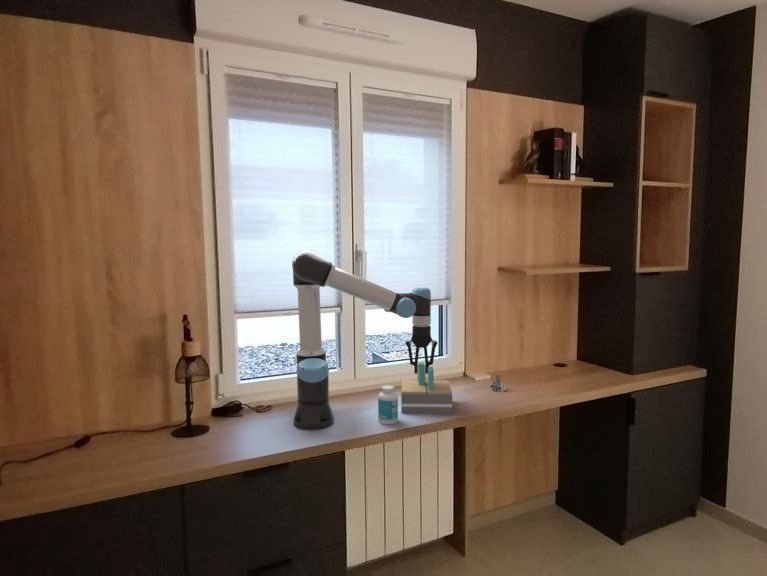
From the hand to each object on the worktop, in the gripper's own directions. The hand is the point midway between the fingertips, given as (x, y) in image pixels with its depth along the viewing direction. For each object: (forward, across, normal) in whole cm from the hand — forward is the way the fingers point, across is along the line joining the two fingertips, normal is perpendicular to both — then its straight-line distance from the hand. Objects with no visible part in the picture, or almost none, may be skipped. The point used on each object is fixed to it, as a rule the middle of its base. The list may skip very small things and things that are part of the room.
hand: (421, 381), depth 211 cm
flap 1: (+2, -3, -4) cm, 5 cm away
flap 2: (+2, +7, -4) cm, 8 cm away
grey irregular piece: (+11, +33, +20) cm, 40 cm away
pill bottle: (+10, -13, -20) cm, 26 cm away
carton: (+10, +2, -4) cm, 11 cm away
